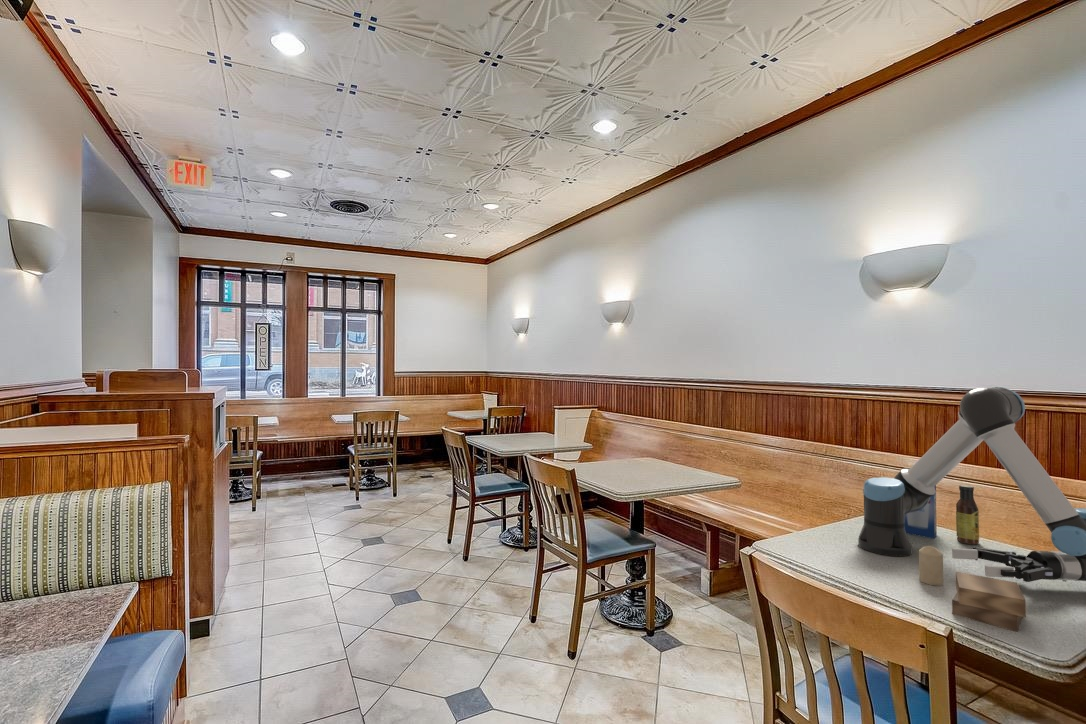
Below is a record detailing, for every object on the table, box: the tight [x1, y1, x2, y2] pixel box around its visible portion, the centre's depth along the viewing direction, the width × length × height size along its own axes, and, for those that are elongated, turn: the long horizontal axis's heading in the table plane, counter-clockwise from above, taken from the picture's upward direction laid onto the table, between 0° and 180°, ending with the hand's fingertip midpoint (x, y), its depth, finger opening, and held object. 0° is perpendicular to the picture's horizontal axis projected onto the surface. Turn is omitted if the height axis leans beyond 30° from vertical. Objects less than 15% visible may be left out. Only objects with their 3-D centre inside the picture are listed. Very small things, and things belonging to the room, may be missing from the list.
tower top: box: [955, 571, 1027, 618], centre depth 127 cm, size 12×12×4 cm
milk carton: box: [905, 484, 938, 539], centre depth 191 cm, size 10×6×20 cm, turn 46°
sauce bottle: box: [955, 484, 980, 545], centre depth 181 cm, size 7×6×20 cm
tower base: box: [951, 592, 1023, 633], centre depth 127 cm, size 12×12×4 cm
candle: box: [918, 545, 944, 587], centre depth 147 cm, size 6×6×10 cm
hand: (968, 561), depth 145 cm, fingers open, 13 cm apart
